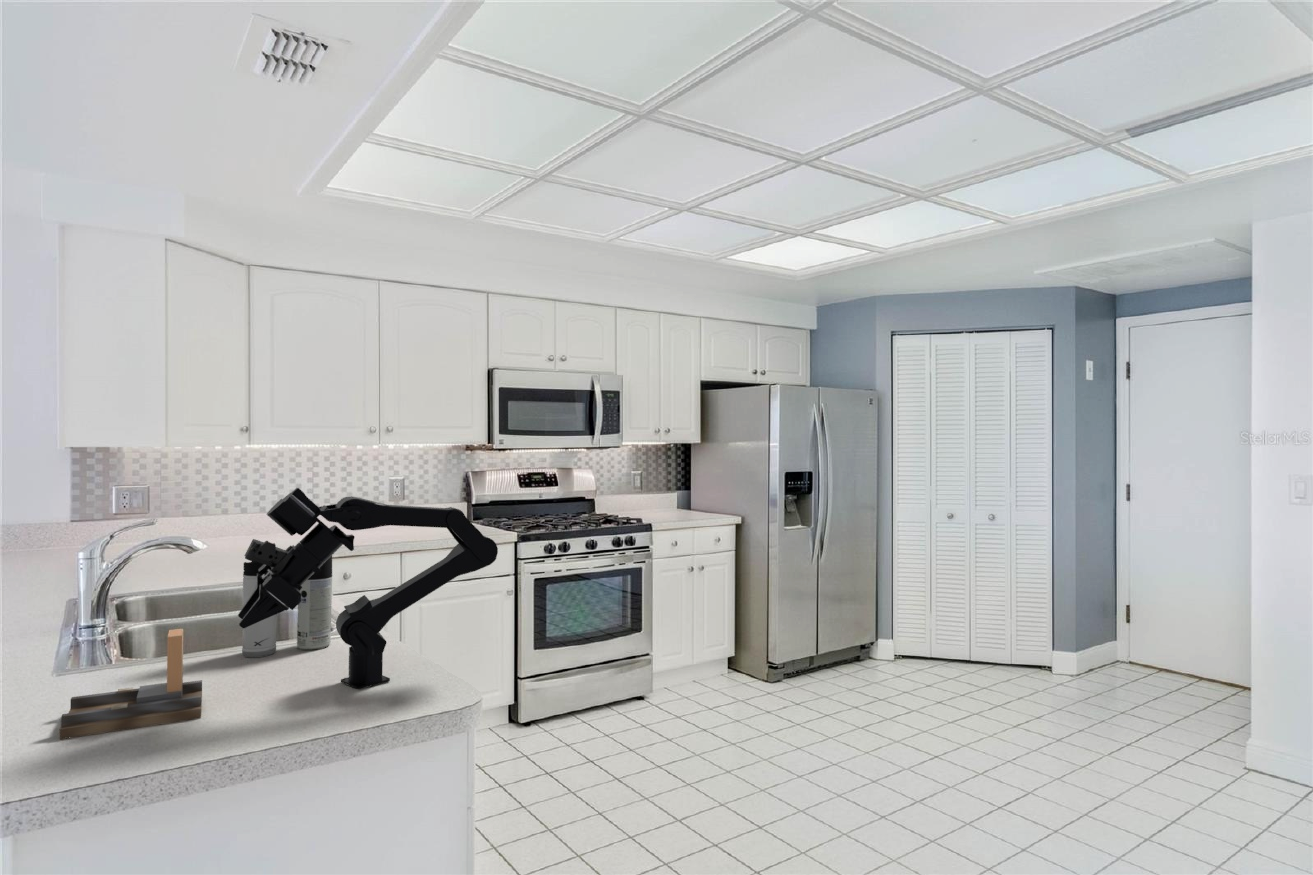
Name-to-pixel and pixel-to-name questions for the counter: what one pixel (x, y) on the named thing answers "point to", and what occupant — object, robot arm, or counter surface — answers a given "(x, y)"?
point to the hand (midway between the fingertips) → (240, 621)
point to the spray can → (315, 610)
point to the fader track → (128, 711)
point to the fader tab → (173, 673)
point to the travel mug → (261, 634)
